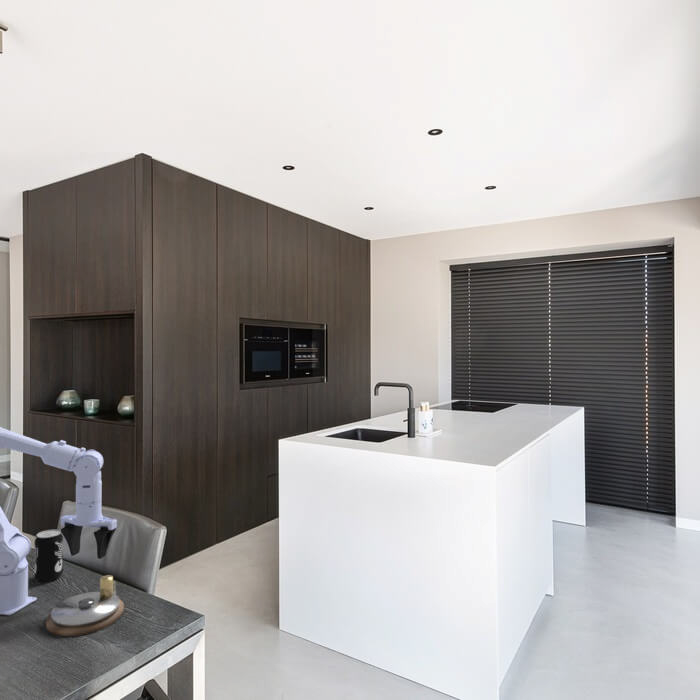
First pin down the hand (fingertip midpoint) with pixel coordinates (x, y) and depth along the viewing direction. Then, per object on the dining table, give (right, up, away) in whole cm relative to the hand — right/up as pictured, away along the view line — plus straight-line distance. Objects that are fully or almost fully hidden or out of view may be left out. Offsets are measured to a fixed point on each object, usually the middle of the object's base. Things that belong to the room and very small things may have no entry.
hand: (88, 555), depth 129 cm
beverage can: (-16, -10, +11) cm, 22 cm away
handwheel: (+4, -9, -9) cm, 14 cm away
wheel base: (+4, -11, -9) cm, 14 cm away
